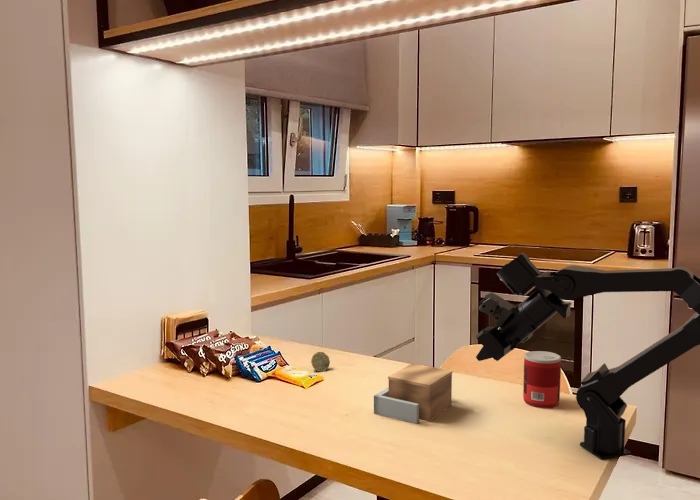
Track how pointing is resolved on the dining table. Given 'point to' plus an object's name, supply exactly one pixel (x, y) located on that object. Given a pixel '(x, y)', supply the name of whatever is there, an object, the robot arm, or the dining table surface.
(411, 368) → the tea box
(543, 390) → the canned food
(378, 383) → the dining table surface
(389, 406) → the bay
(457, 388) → the dining table surface
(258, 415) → the dining table surface
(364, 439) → the dining table surface
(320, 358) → the olive speckled ball
